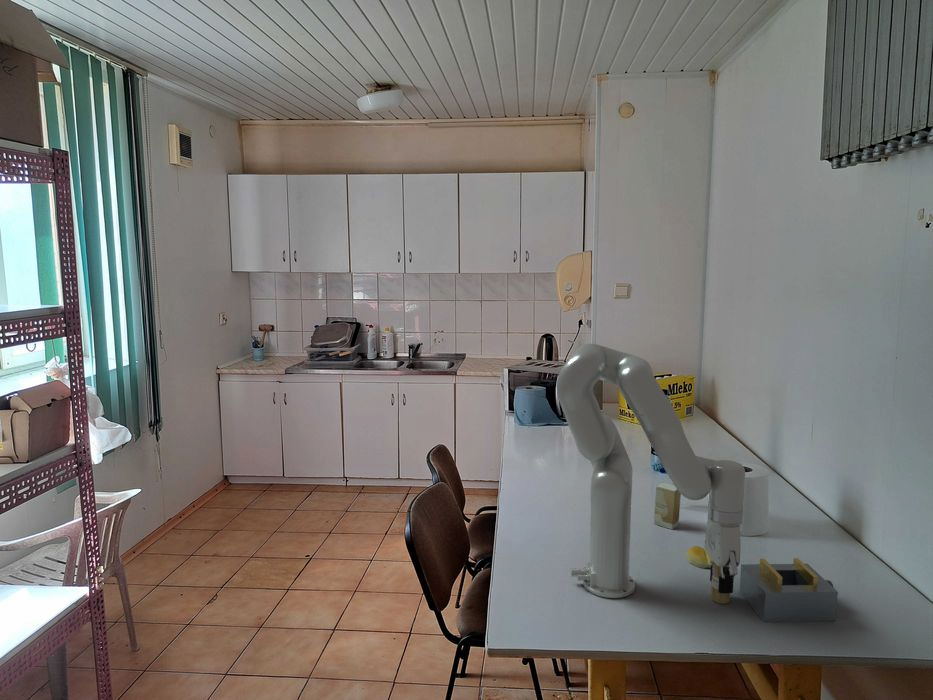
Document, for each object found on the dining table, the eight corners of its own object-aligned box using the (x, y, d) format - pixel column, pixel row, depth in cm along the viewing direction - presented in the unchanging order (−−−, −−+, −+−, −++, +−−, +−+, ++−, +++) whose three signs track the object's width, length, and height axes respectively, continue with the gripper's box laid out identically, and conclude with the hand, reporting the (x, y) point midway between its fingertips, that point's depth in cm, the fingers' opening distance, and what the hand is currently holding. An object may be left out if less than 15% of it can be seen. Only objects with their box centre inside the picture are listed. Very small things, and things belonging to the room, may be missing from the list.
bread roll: (685, 553, 179) (685, 539, 179) (719, 557, 177) (720, 543, 177) (687, 567, 171) (688, 553, 171) (723, 571, 169) (724, 557, 169)
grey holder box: (763, 621, 146) (766, 582, 145) (739, 591, 159) (741, 554, 158) (844, 620, 146) (847, 581, 145) (813, 590, 159) (816, 553, 158)
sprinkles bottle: (706, 595, 158) (709, 542, 156) (725, 593, 158) (728, 541, 156) (715, 605, 153) (718, 551, 151) (734, 604, 154) (737, 550, 152)
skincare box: (653, 524, 198) (654, 485, 196) (659, 519, 201) (661, 481, 199) (673, 530, 193) (675, 490, 192) (679, 525, 197) (681, 486, 195)
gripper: (696, 500, 161) (693, 569, 164) (723, 529, 144) (719, 606, 147) (726, 499, 161) (723, 569, 164) (757, 529, 144) (752, 606, 147)
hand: (721, 586), depth 155 cm, fingers closed on sprinkles bottle, 4 cm apart
